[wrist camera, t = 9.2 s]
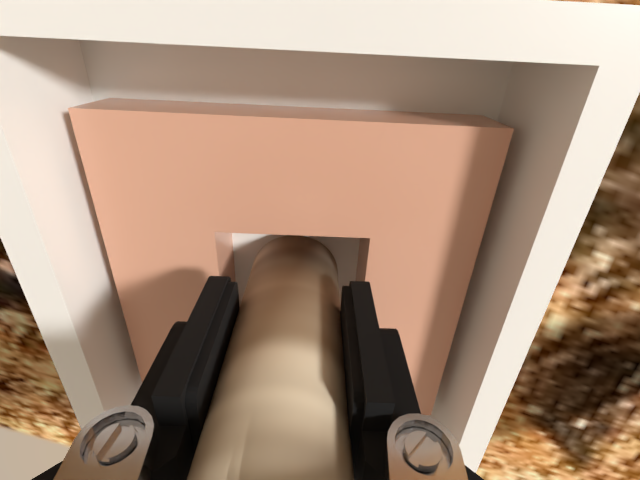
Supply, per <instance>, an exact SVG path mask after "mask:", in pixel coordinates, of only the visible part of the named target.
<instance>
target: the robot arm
mask: <svg viewBox="0 0 640 480" xmlns="http://www.w3.org/2000/svg"><path fill="white" fill-rule="evenodd" d="M239 308H240V307H239V294H238V284H237V282H231V278H230V277H229V276H209V278H208V279H207V281H206V283H205V286H204V288H203V290H202V292H201V294H200V296H199V298H198V300H197V302H196V304H195V306H194V308H193V310H192V312H191V315H190V317H189V319H188V321H187V322H185V321H177V322H175V323H174V325H173V326H172V328H171V329H170V331H169V333H168V335H167V337H166V339H165V341H164V343H163V345H162V346H161V348H160V350H159V352H158V354H157V356H156V358H155V360H154V362H153V364H152V365H151V367H150V369H149V371H148V373H147V375H146V377H145V379H144V381H143V382H142V384H141V386H140V388H139V390H138V392H137V394H136V396H135V398H134V400H133V401H132V403H131V405H125V406H119V407H115V408H112V409H110V410H107V411H105V412H103V413H101V414H100V415H98V416H96V417H95V418H93V419H92V420H91V421H90V422H89V423H87V424H86V425H85V426H84V427H83V428H82V429H81V431H80V432H79V433H78V435H77V436H76V438H75V439H74V441H73V443H72V445H71V447H70V449H69V451H68V453H67V454H66V456H65V458H64V460H63V461H62V462H60V463H58V464H57V465H55V466H53V467H52V468H50V469H48V470H47V471H45V472H44V473H42V474H40V475H38V476H37V477H35V478H33V479H32V480H187V477H188V474H189V471H190V468H191V464H192V461H193V458H194V455H195V451H196V448H197V445H198V442H199V438H200V435H201V432H202V429H203V426H204V423H205V419H206V416H207V413H208V409H209V406H210V403H211V400H212V396H213V393H214V390H215V387H216V383H217V380H218V377H219V374H220V370H221V367H222V364H223V361H224V357H225V354H226V351H227V348H228V344H229V341H230V338H231V334H232V331H233V328H234V325H235V321H236V318H237V315H238V312H239ZM340 318H341V331H342V345H343V358H344V371H345V384H346V398H347V411H348V424H349V437H350V440H351V445H352V458H353V471H354V480H484V479H482V478H481V477H480V476H478V475H477V474H476V473H475V472H473V471H472V470H471V469H469V468H468V467H467V466H466V465H464V461H463V457H462V453H461V449H460V447H459V445H458V442H457V440H456V438H455V437H454V435H453V434H452V433H451V431H450V430H449V429H448V428H447V427H446V426H444V425H443V424H442V423H441V422H440V421H438V420H436V419H434V418H432V417H430V416H427V415H423V414H421V412H420V408H419V404H418V401H417V397H416V393H415V390H414V386H413V382H412V379H411V375H410V372H409V368H408V364H407V361H406V357H405V353H404V350H403V346H402V343H401V339H400V335H399V332H398V330H397V329H393V328H379V324H378V319H377V314H376V310H375V305H374V300H373V296H372V291H371V286H370V282H367V281H350V283H349V286H342V295H341V306H340Z"/></svg>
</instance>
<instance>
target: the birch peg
mask: <svg viewBox="0 0 640 480" xmlns="http://www.w3.org/2000/svg"><path fill="white" fill-rule="evenodd" d="M187 480H354V471H353V458H352V445H351V440H350V437H349V424H348V411H347V398H346V384H345V371H344V358H343V345H342V331H341V318H340V294H339V282H338V269H337V264H336V261H335V258H334V256H333V255H332V253H331V252H330V250H329V249H328V248H327V247H326V246H324V245H323V244H322V243H320V242H319V241H317V240H315V239H313V238H310V237H307V236H299V235H286V236H281V237H278V238H275V239H273V240H271V241H269V242H268V243H267V244H265V245H264V246H263V247H262V248H261V249H260V250H259V252H258V253H257V255H256V257H255V260H254V263H253V266H252V269H251V272H250V276H249V279H248V282H247V285H246V289H245V292H244V295H243V298H242V302H241V305H240V308H239V312H238V315H237V318H236V321H235V325H234V328H233V331H232V334H231V338H230V341H229V344H228V348H227V351H226V354H225V357H224V361H223V364H222V367H221V370H220V374H219V377H218V380H217V383H216V387H215V390H214V393H213V396H212V400H211V403H210V406H209V409H208V413H207V416H206V419H205V423H204V426H203V429H202V432H201V435H200V438H199V442H198V445H197V448H196V451H195V455H194V458H193V461H192V464H191V468H190V471H189V474H188V477H187Z"/></svg>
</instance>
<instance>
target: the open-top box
mask: <svg viewBox="0 0 640 480" xmlns="http://www.w3.org/2000/svg"><path fill="white" fill-rule="evenodd" d="M639 92H640V5H625V4H606V3H588V2H569V1H550V0H0V238H1V240H2V242H3V245H4V247H5V250H6V252H7V254H8V257H9V259H10V261H11V264H12V266H13V268H14V271H15V273H16V276H17V278H18V280H19V283H20V285H21V287H22V290H23V292H24V295H25V297H26V299H27V302H28V304H29V306H30V309H31V311H32V313H33V316H34V318H35V321H36V323H37V325H38V328H39V330H40V332H41V335H42V337H43V339H44V342H45V344H46V347H47V349H48V351H49V354H50V356H51V358H52V361H53V363H54V366H55V368H56V370H57V373H58V375H59V377H60V380H61V382H62V384H63V387H64V389H65V392H66V394H67V396H68V399H69V401H70V403H71V406H72V408H73V410H74V413H75V415H76V418H77V420H78V422H79V425H80V427H81V429H82V428H83V427H84V426H85V425H86V424H87V423H89V422H90V421H91V420H92V419H93V418H95V417H96V416H98V415H100V414H101V413H103V412H105V411H107V410H110V409H112V408H115V407H119V406H125V405H131V403H132V401H133V400H134V398H135V396H136V394H137V392H138V390H139V388H140V386H141V384H142V380H141V377H140V373H139V369H138V366H137V362H136V358H135V354H134V351H133V347H132V343H131V340H130V336H129V332H128V329H127V325H126V321H125V318H124V314H123V310H122V307H121V303H120V299H119V295H118V292H117V288H116V284H115V281H114V277H113V273H112V270H111V266H110V262H109V259H108V255H107V251H106V248H105V244H104V240H103V236H102V233H101V229H100V225H99V222H98V218H97V214H96V211H95V207H94V203H93V200H92V196H91V192H90V189H89V185H88V181H87V177H86V174H85V170H84V166H83V163H82V159H81V155H80V152H79V148H78V144H77V141H76V137H75V133H74V130H73V126H72V122H71V118H70V115H69V111H68V108H69V107H74V106H78V105H82V104H86V103H90V102H94V101H98V100H102V99H106V98H127V99H149V100H170V101H191V102H213V103H234V104H256V105H277V106H298V107H320V108H341V109H363V110H384V111H406V112H427V113H448V114H470V115H483V116H486V117H488V118H490V119H493V120H495V121H498V122H500V123H502V124H505V125H507V126H509V127H512V128H514V131H513V134H512V138H511V141H510V144H509V148H508V151H507V155H506V158H505V162H504V165H503V169H502V172H501V175H500V179H499V182H498V186H497V189H496V193H495V196H494V200H493V203H492V206H491V210H490V213H489V217H488V220H487V224H486V227H485V231H484V234H483V237H482V241H481V244H480V248H479V251H478V255H477V258H476V262H475V265H474V268H473V272H472V275H471V279H470V282H469V286H468V289H467V293H466V296H465V299H464V303H463V306H462V310H461V313H460V317H459V320H458V324H457V327H456V330H455V334H454V337H453V341H452V344H451V348H450V351H449V355H448V358H447V361H446V365H445V368H444V372H443V375H442V379H441V382H440V385H439V389H438V392H437V396H436V399H435V403H434V406H433V410H432V413H431V415H427V416H430V417H432V418H434V419H436V420H438V421H440V422H441V423H442V424H443V425H444V426H446V427H447V428H448V429H449V430H450V431H451V433H452V434H453V435H454V437H455V438H456V440H457V442H458V445H459V447H460V449H461V453H462V457H463V461H464V465H466V466H467V467H468V468H469V469H471V470H472V471H473V472H475V473H476V471H477V469H478V467H479V464H480V462H481V460H482V457H483V455H484V453H485V450H486V448H487V446H488V443H489V441H490V439H491V436H492V434H493V432H494V429H495V427H496V425H497V422H498V420H499V418H500V415H501V413H502V411H503V408H504V406H505V404H506V402H507V399H508V397H509V395H510V392H511V390H512V388H513V385H514V383H515V381H516V378H517V376H518V374H519V371H520V369H521V367H522V364H523V362H524V360H525V357H526V355H527V353H528V350H529V348H530V346H531V343H532V341H533V339H534V336H535V334H536V332H537V329H538V327H539V325H540V323H541V320H542V318H543V316H544V313H545V311H546V309H547V306H548V304H549V302H550V299H551V297H552V295H553V292H554V290H555V288H556V285H557V283H558V281H559V278H560V276H561V274H562V271H563V269H564V267H565V264H566V262H567V260H568V257H569V255H570V253H571V250H572V248H573V246H574V244H575V241H576V239H577V237H578V234H579V232H580V230H581V227H582V225H583V223H584V220H585V218H586V216H587V213H588V211H589V209H590V206H591V204H592V202H593V199H594V197H595V195H596V192H597V190H598V188H599V185H600V183H601V181H602V178H603V176H604V174H605V171H606V169H607V167H608V165H609V162H610V160H611V158H612V155H613V153H614V151H615V148H616V146H617V144H618V141H619V139H620V137H621V134H622V132H623V130H624V127H625V125H626V123H627V120H628V118H629V116H630V113H631V111H632V109H633V106H634V104H635V102H636V99H637V97H638V95H639ZM281 236H286V235H274V234H248V233H232V240H233V252H234V265H235V278H236V282H237V284H238V294H239V307H240V305H241V302H242V298H243V295H244V292H245V289H246V285H247V282H248V279H249V276H250V272H251V269H252V266H253V263H254V260H255V257H256V255H257V253H258V252H259V250H260V249H261V248H262V247H263V246H264V245H265V244H267V243H268V242H269V241H271V240H273V239H275V238H278V237H281ZM307 237H310V238H313V239H315V240H317V241H319V242H320V243H322V244H323V245H324V246H326V247H327V248H328V249H329V250H330V252H331V253H332V255H333V256H334V258H335V261H336V264H337V269H338V282H339V294H340V306H341V295H342V286H349V283H350V281H355V279H356V270H357V261H358V252H359V243H360V238H351V237H325V236H307Z"/></svg>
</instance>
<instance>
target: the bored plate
mask: <svg viewBox="0 0 640 480" xmlns="http://www.w3.org/2000/svg"><path fill="white" fill-rule="evenodd" d="M68 111H69V115H70V118H71V122H72V126H73V130H74V133H75V137H76V141H77V144H78V148H79V152H80V155H81V159H82V163H83V166H84V170H85V174H86V177H87V181H88V185H89V189H90V192H91V196H92V200H93V203H94V207H95V211H96V214H97V218H98V222H99V225H100V229H101V233H102V236H103V240H104V244H105V248H106V251H107V255H108V259H109V262H110V266H111V270H112V273H113V277H114V281H115V284H116V288H117V292H118V295H119V299H120V303H121V307H122V310H123V314H124V318H125V321H126V325H127V329H128V332H129V336H130V340H131V343H132V347H133V351H134V354H135V358H136V362H137V366H138V369H139V373H140V377H141V380H142V382H143V381H144V379H145V377H146V375H147V373H148V371H149V369H150V367H151V365H152V364H153V362H154V360H155V358H156V356H157V354H158V352H159V350H160V348H161V346H162V345H163V343H164V341H165V339H166V337H167V335H168V333H169V331H170V329H171V328H172V326H173V325H174V323H175V322H177V321H185V322H187V321H188V319H189V317H190V315H191V312H192V310H193V308H194V306H195V304H196V302H197V300H198V298H199V296H200V294H201V292H202V290H203V288H204V286H205V283H206V281H207V279H208V278H209V276H229V277H230V278H231V282H236V278H235V265H234V252H233V240H232V233H248V234H274V235H299V236H325V237H351V238H360V243H359V252H358V261H357V270H356V279H355V281H367V282H370V286H371V291H372V296H373V300H374V305H375V310H376V314H377V319H378V324H379V328H393V329H397V330H398V332H399V335H400V339H401V343H402V346H403V350H404V353H405V357H406V361H407V364H408V368H409V372H410V375H411V379H412V382H413V386H414V390H415V393H416V397H417V401H418V404H419V408H420V412H421V414H423V415H431V413H432V410H433V406H434V403H435V399H436V396H437V392H438V389H439V385H440V382H441V379H442V375H443V372H444V368H445V365H446V361H447V358H448V355H449V351H450V348H451V344H452V341H453V337H454V334H455V330H456V327H457V324H458V320H459V317H460V313H461V310H462V306H463V303H464V299H465V296H466V293H467V289H468V286H469V282H470V279H471V275H472V272H473V268H474V265H475V262H476V258H477V255H478V251H479V248H480V244H481V241H482V237H483V234H484V231H485V227H486V224H487V220H488V217H489V213H490V210H491V206H492V203H493V200H494V196H495V193H496V189H497V186H498V182H499V179H500V175H501V172H502V169H503V165H504V162H505V158H506V155H507V151H508V148H509V144H510V141H511V138H512V134H513V131H514V128H512V127H509V126H507V125H505V124H502V123H500V122H498V121H495V120H493V119H490V118H488V117H486V116H483V115H470V114H448V113H427V112H406V111H384V110H363V109H341V108H320V107H298V106H277V105H256V104H234V103H213V102H191V101H170V100H149V99H127V98H106V99H102V100H98V101H94V102H90V103H86V104H82V105H78V106H74V107H69V108H68Z"/></svg>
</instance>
